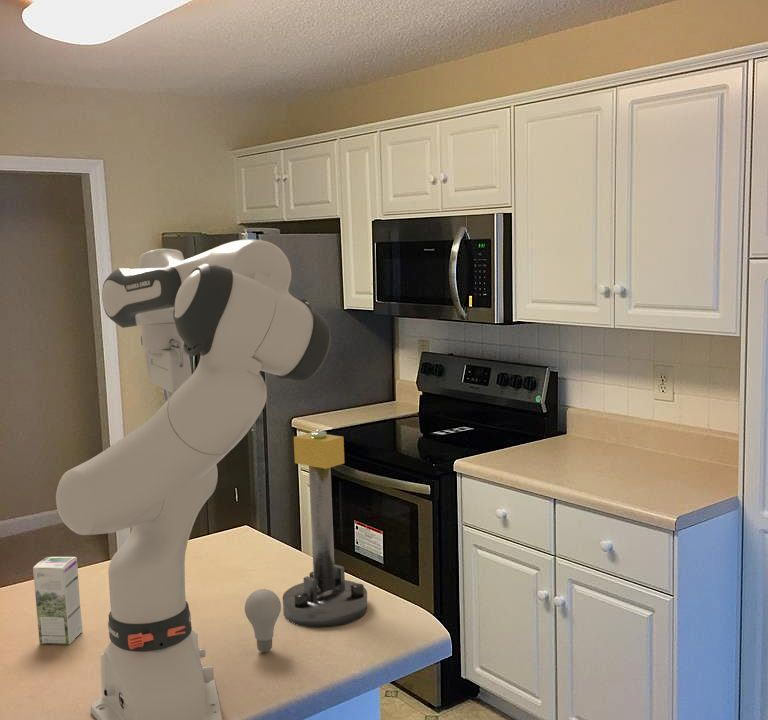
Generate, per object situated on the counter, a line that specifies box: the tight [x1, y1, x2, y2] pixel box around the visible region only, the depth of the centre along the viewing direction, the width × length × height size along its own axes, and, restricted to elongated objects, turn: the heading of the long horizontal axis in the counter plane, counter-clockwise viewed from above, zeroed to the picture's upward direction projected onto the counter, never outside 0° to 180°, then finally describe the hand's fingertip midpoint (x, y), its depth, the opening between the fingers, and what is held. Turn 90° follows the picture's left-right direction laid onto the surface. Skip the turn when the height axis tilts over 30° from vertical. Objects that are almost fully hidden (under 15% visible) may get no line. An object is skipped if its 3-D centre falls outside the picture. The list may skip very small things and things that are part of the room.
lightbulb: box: [244, 588, 282, 654], centre depth 148 cm, size 6×6×11 cm
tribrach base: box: [282, 564, 368, 629], centre depth 165 cm, size 16×16×7 cm
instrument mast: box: [293, 429, 345, 595], centre depth 163 cm, size 8×6×31 cm
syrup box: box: [32, 556, 83, 646], centre depth 155 cm, size 6×6×14 cm
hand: (172, 412), depth 161 cm, fingers closed
